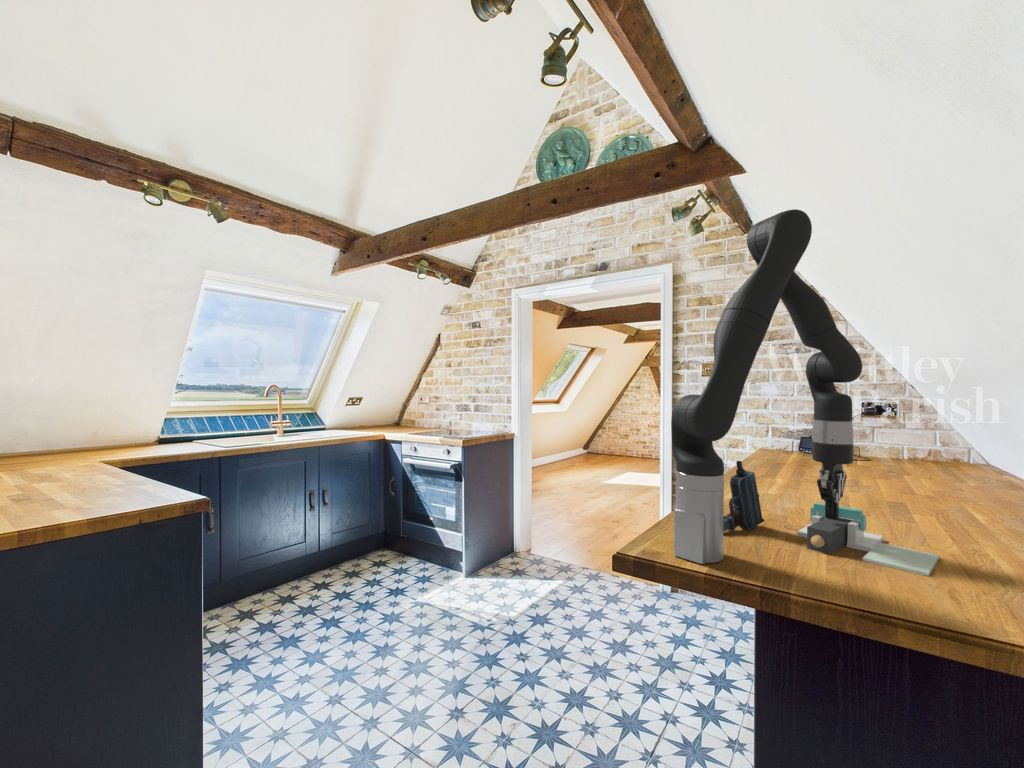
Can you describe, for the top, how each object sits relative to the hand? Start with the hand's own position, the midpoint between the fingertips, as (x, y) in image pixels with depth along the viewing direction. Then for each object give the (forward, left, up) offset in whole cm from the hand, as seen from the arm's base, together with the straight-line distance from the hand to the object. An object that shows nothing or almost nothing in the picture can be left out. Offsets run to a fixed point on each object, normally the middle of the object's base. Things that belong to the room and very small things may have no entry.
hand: (831, 518), depth 103 cm
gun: (-5, +18, -6) cm, 20 cm away
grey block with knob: (0, 0, -6) cm, 6 cm away
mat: (+1, -12, -6) cm, 13 cm away
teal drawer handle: (+5, 0, -2) cm, 6 cm away
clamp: (+7, 0, -6) cm, 9 cm away
